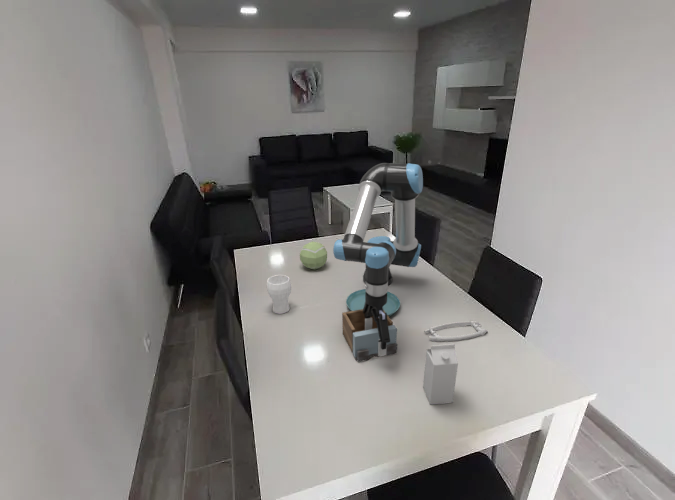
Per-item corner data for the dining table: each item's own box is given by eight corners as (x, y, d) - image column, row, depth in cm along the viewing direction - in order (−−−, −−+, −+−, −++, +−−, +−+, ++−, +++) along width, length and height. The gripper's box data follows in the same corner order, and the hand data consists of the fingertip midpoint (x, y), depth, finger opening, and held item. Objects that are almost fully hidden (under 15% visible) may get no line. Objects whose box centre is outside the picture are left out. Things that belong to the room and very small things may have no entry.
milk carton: (422, 387, 113) (427, 338, 106) (444, 386, 113) (450, 336, 106) (429, 404, 106) (435, 353, 99) (452, 403, 107) (459, 352, 100)
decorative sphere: (332, 265, 201) (331, 241, 196) (317, 275, 190) (316, 249, 184) (311, 260, 209) (310, 236, 203) (295, 269, 197) (293, 244, 192)
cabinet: (379, 327, 144) (380, 306, 140) (398, 353, 129) (399, 330, 125) (342, 334, 140) (342, 312, 136) (356, 362, 125) (356, 338, 121)
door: (393, 345, 132) (394, 324, 129) (395, 349, 130) (397, 328, 127) (352, 353, 128) (352, 332, 125) (355, 357, 126) (354, 336, 123)
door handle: (420, 331, 142) (477, 323, 146) (431, 346, 133) (491, 337, 137) (421, 325, 141) (477, 317, 145) (432, 340, 132) (492, 331, 136)
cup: (288, 316, 153) (285, 286, 147) (265, 314, 155) (262, 284, 149) (296, 304, 162) (293, 275, 157) (274, 302, 164) (271, 273, 159)
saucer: (338, 317, 152) (338, 310, 151) (354, 291, 173) (354, 285, 172) (394, 327, 145) (394, 320, 143) (403, 298, 166) (404, 292, 164)
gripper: (354, 277, 130) (354, 326, 138) (380, 312, 108) (378, 367, 116) (373, 275, 132) (372, 323, 140) (402, 308, 110) (399, 363, 118)
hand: (375, 343), depth 128 cm, fingers open, 13 cm apart
